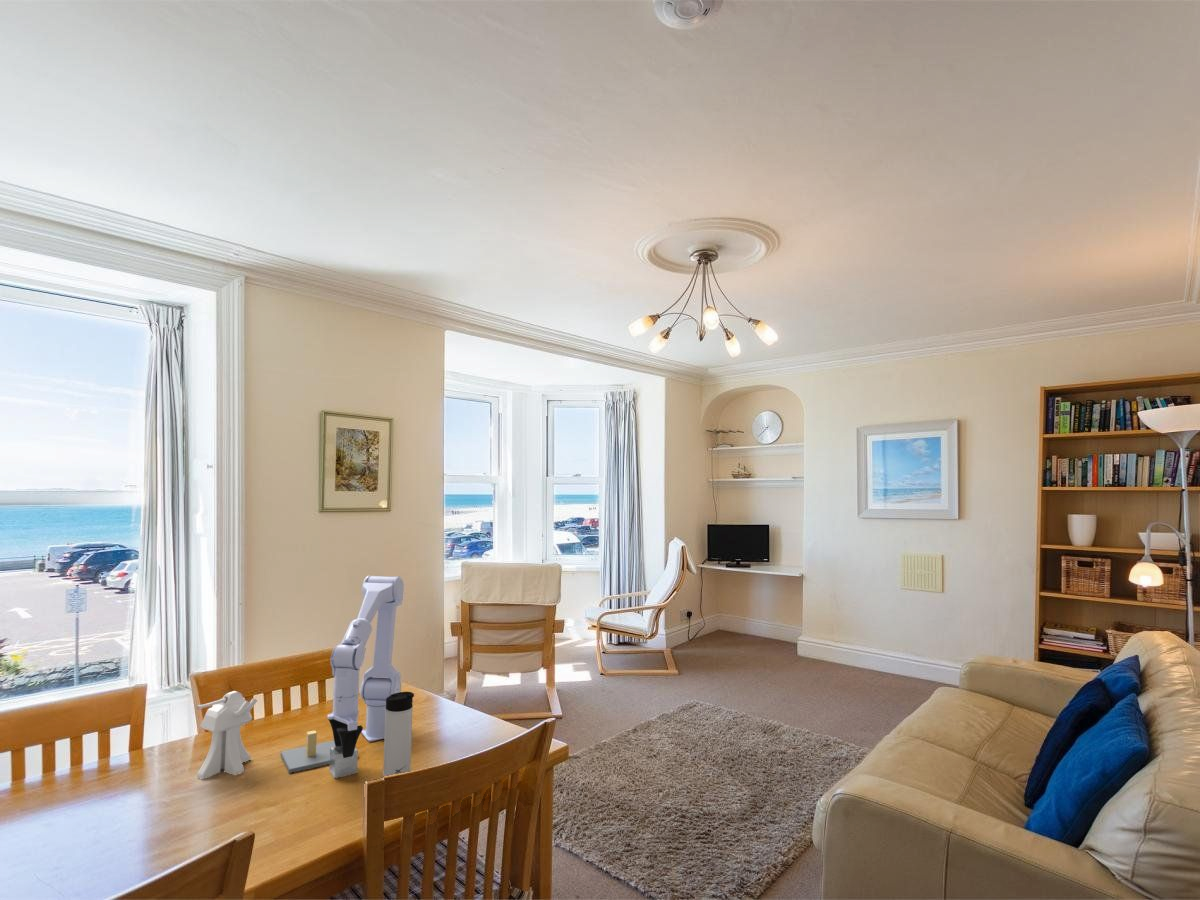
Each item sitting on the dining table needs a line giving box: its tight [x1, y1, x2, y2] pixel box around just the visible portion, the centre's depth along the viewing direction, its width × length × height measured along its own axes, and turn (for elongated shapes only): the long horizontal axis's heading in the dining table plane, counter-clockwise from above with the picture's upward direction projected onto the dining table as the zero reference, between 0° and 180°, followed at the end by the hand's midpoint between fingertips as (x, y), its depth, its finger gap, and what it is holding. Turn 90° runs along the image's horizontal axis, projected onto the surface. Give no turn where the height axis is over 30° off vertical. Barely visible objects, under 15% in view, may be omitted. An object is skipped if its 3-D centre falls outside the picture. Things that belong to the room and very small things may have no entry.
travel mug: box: [382, 691, 415, 778], centre depth 154 cm, size 6×7×20 cm
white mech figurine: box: [196, 690, 258, 780], centre depth 157 cm, size 12×13×18 cm
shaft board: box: [280, 730, 335, 774], centre depth 164 cm, size 16×12×6 cm
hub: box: [328, 745, 359, 779], centre depth 156 cm, size 5×5×6 cm
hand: (343, 750), depth 156 cm, fingers open, 7 cm apart
